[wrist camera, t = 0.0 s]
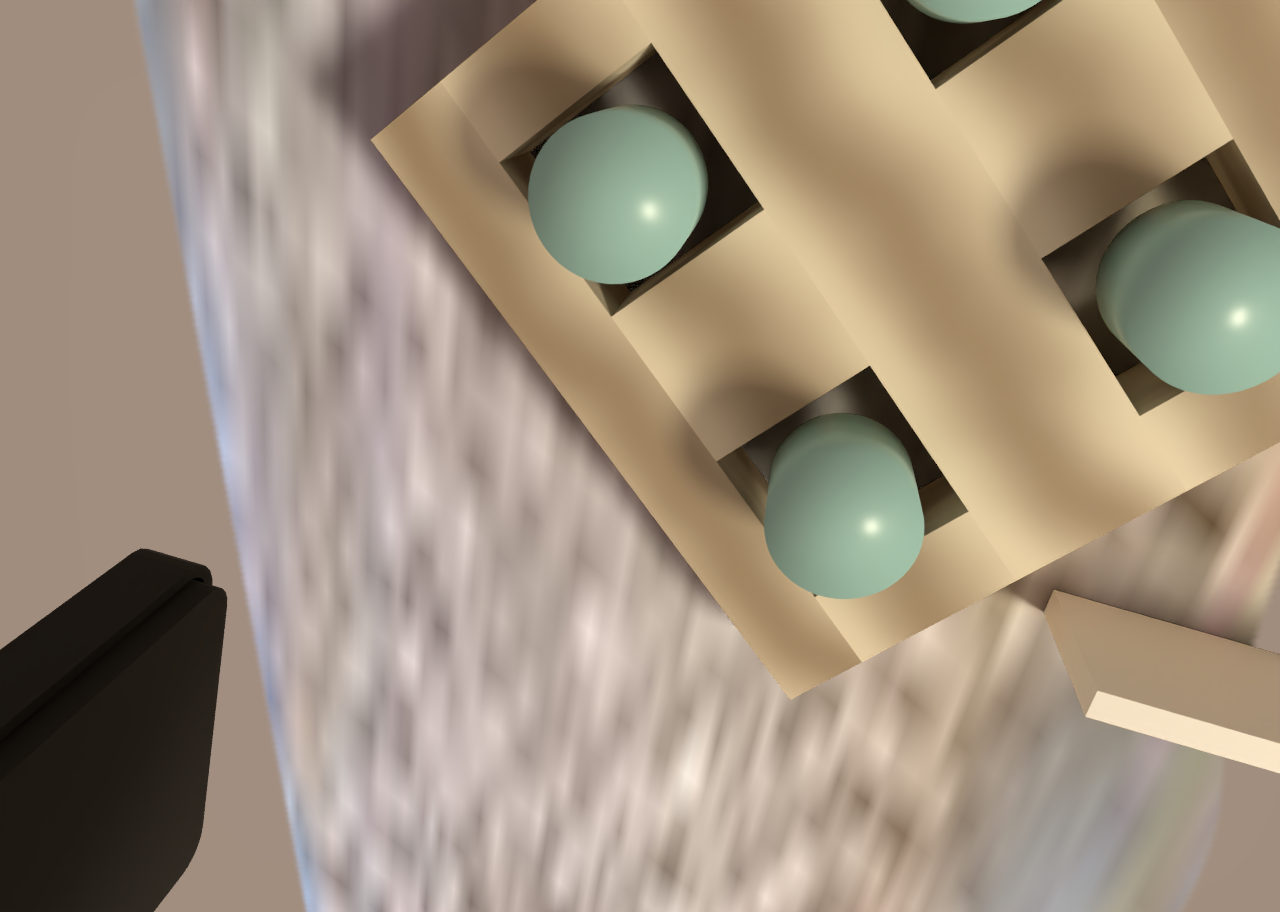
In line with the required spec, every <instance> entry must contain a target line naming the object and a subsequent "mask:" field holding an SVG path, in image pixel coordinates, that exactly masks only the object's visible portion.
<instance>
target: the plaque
mask: <svg viewBox="0 0 1280 912" xmlns="http://www.w3.org/2000/svg"><path fill="white" fill-rule="evenodd" d="M1044 614H1045V617H1046V619H1047V622H1048V624H1049V627H1050V629H1051V632H1052V634H1053V637H1054V639H1055V642H1056V644H1057V647H1058V649H1059V652H1060V654H1061V657H1062V659H1063V662H1064V664H1065V667H1066V669H1067V672H1068V674H1069V677H1070V679H1071V682H1072V684H1073V687H1074V689H1075V692H1076V695H1077V697H1078V700H1079V702H1080V705H1081V707H1082V710H1083V712H1084V715H1085V717H1088V718H1092V719H1095V720H1099V721H1102V722H1106V723H1109V724H1112V725H1116V726H1119V727H1123V728H1126V729H1130V730H1133V731H1136V732H1140V733H1143V734H1147V735H1150V736H1154V737H1157V738H1160V739H1164V740H1167V741H1171V742H1174V743H1178V744H1181V745H1184V746H1188V747H1191V748H1195V749H1198V750H1202V751H1205V752H1208V753H1212V754H1215V755H1219V756H1222V757H1226V758H1229V759H1232V760H1236V761H1240V762H1243V763H1246V764H1250V765H1253V766H1256V767H1260V768H1264V769H1267V770H1270V771H1274V772H1277V773H1280V654H1277V653H1274V652H1270V651H1267V650H1263V649H1260V648H1256V647H1253V646H1249V645H1246V644H1242V643H1239V642H1235V641H1232V640H1228V639H1225V638H1221V637H1218V636H1214V635H1211V634H1207V633H1204V632H1200V631H1197V630H1193V629H1190V628H1186V627H1183V626H1179V625H1176V624H1172V623H1169V622H1165V621H1162V620H1158V619H1155V618H1151V617H1148V616H1144V615H1141V614H1137V613H1134V612H1130V611H1127V610H1123V609H1120V608H1116V607H1113V606H1109V605H1106V604H1102V603H1099V602H1095V601H1092V600H1088V599H1085V598H1081V597H1078V596H1074V595H1071V594H1067V593H1064V592H1060V591H1057V590H1053V592H1052V595H1051V597H1050V599H1049V602H1048V604H1047V606H1046V608H1045V611H1044Z"/></svg>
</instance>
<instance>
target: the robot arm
mask: <svg viewBox="0 0 1280 912" xmlns="http://www.w3.org/2000/svg"><path fill="white" fill-rule="evenodd" d="M226 610H227V596H226V592H225V591H224V590H223V589H222V588H219V587H216V586H212V576H211V572H210V570H209V569H208V568H207V567H206V566H204V565H201V564H198V563H194V562H190V561H187V560H184V559H181V558H177V557H173V556H170V555H167V554H163V553H160V552H157V551H153V550H150V549H139V550H137V551H135V552H133V553H131V554H130V555H129V556H127V557H126V558H125V559H123V560H122V561H121V562H119V563H118V564H117V565H115V566H114V567H112V568H111V569H110V570H108V571H107V572H106V573H104V574H103V575H101V576H100V577H99V578H97V579H96V580H95V581H93V582H92V583H91V584H89V585H88V586H86V587H85V588H84V589H82V590H81V591H80V592H78V593H77V594H76V595H74V596H73V597H72V598H70V599H69V600H68V601H66V602H65V603H63V604H62V605H61V606H59V607H58V608H56V609H55V610H54V611H52V612H51V613H50V614H49V615H47V616H46V617H44V618H43V619H41V620H40V621H39V622H37V623H36V624H35V625H33V626H32V627H31V628H29V629H28V630H26V631H25V632H24V633H22V634H21V635H20V636H18V637H17V638H16V639H14V640H13V641H11V642H10V643H9V644H7V645H6V646H5V647H4V648H2V649H1V650H0V912H154V911H155V909H156V908H157V907H158V905H159V904H160V903H161V902H162V900H163V899H164V898H165V896H166V895H167V894H168V893H169V891H170V890H171V889H172V887H173V886H174V884H175V883H176V882H177V881H178V880H179V878H180V877H181V876H182V874H183V873H184V871H185V870H186V868H187V867H188V865H189V863H190V862H191V859H192V858H193V856H194V854H195V851H196V849H197V846H198V843H199V840H200V837H201V833H202V828H203V820H204V811H205V801H206V791H207V783H208V774H209V765H210V756H211V746H212V738H213V728H214V719H215V710H216V701H217V692H218V683H219V673H220V665H221V656H222V647H223V638H224V628H225V618H226Z"/></svg>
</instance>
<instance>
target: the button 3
mask: <svg viewBox="0 0 1280 912" xmlns="http://www.w3.org/2000/svg"><path fill="white" fill-rule="evenodd" d="M907 1H908V2H909V3H910V4H911V5H912V6H914V7H915V8H916V9H918V10H919V11H920V12H922V13H924V14H926V15H927V16H929V17H932V18H934V19H937V20H940V21H944V22H948V23H958V24H967V23H976V22H982V21H988V20H994V19H999V18H1005V17H1008V16H1011V15H1014V14H1017V13H1019V12H1022V11H1024V10H1026V9H1028V8H1030V7H1032V6H1033V5H1035V4H1037V3H1038V2H1040V1H1041V0H907Z"/></svg>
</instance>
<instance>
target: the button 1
mask: <svg viewBox="0 0 1280 912" xmlns="http://www.w3.org/2000/svg"><path fill="white" fill-rule="evenodd" d="M707 195H708V173H707V166H706V163H705V159H704V156H703V154H702V151H701V149H700V147H699V145H698V143H697V142H696V140H695V138H694V137H693V136H692V134H691V133H690V132H689V131H688V129H687V128H685V127H684V126H683V125H682V124H681V123H680V122H679V121H678V120H676V119H675V118H674V117H672V116H670V115H669V114H667V113H665V112H663V111H661V110H658V109H656V108H652V107H648V106H644V105H621V106H616V107H612V108H608V109H605V110H601V111H597V112H594V113H590V114H587V115H584V116H581V117H578V118H576V119H574V120H572V121H570V122H568V123H567V124H566V125H564V126H563V127H561V128H560V129H559V130H557V131H556V132H555V133H554V134H553V135H552V136H551V137H550V138H549V139H548V141H547V142H546V143H545V144H544V146H543V147H542V149H541V151H540V152H539V154H538V156H537V158H536V160H535V162H534V165H533V168H532V171H531V174H530V180H529V187H528V203H529V211H530V216H531V220H532V223H533V226H534V229H535V231H536V233H537V235H538V237H539V239H540V241H541V242H542V244H543V246H544V247H545V249H546V250H547V251H548V252H549V254H550V255H551V256H552V257H553V258H554V259H555V260H556V261H557V262H558V263H559V264H560V265H562V266H563V267H564V268H566V269H567V270H569V271H570V272H572V273H574V274H576V275H577V276H579V277H582V278H584V279H587V280H590V281H594V282H598V283H605V284H623V283H630V282H634V281H637V280H641V279H643V278H645V277H648V276H650V275H652V274H654V273H655V272H657V271H658V270H660V269H661V268H663V267H664V266H665V265H666V264H667V263H669V262H670V260H671V259H672V258H673V257H674V256H675V255H676V254H677V252H678V251H679V250H680V248H681V247H682V246H683V244H684V243H685V241H686V240H687V238H688V237H689V235H690V234H691V233H692V231H693V230H694V228H695V227H696V225H697V224H698V222H699V220H700V218H701V216H702V213H703V211H704V208H705V205H706V200H707Z"/></svg>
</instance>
